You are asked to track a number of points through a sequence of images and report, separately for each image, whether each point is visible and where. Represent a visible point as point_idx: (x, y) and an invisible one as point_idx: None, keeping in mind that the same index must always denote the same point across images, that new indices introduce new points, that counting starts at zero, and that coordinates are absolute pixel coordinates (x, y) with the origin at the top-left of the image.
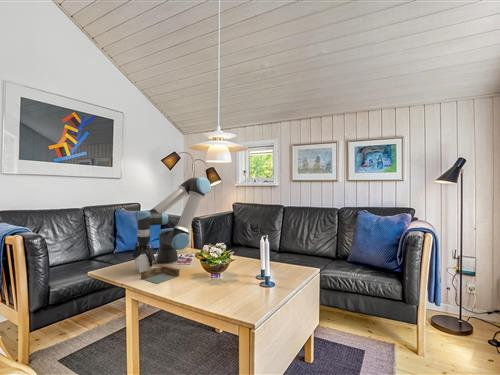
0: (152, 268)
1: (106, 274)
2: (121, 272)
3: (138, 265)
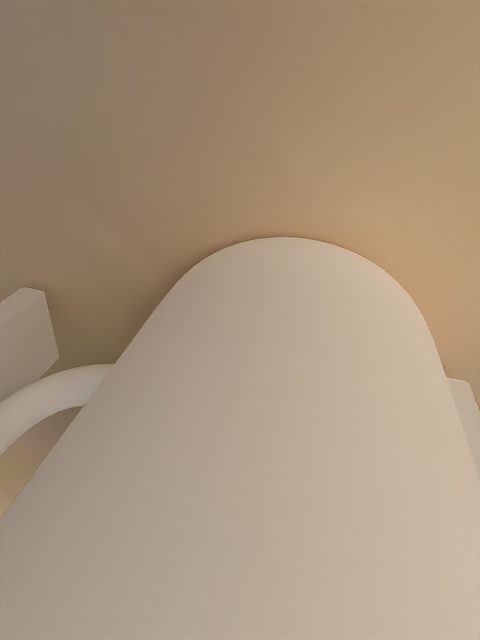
0: (438, 354)
1: (5, 510)
2: (36, 451)
3: (67, 405)
